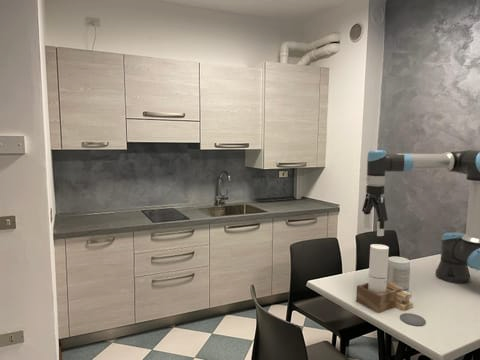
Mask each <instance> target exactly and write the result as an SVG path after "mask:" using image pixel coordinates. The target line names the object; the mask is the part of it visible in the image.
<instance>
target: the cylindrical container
mask: <svg viewBox="0 0 480 360" xmlns="http://www.w3.org/2000/svg"><path fill="white" fill-rule="evenodd" d="M389 251H390V247H389V246H388V245H385V244H380V243H378V244H377V243H375V244H374V243H373V244H370V248H369V262H368V263H369V266H368V268H369V269H368V282H367V283H368V290H370V291H372V292H374V293H376V294H378V295H380V294H383V293H386V286H387V269H388V258H389Z"/></svg>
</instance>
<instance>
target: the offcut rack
mask: <svg viewBox="0 0 480 360" xmlns="http://www.w3.org/2000/svg"><path fill="white" fill-rule="evenodd" d="M412 296H413V295H412V293H411V292H409V291H408V292H406V291H404V288H402V287H400V286H397V285H395V284H393V283H391V282H389V281H387V286H386V293H383V294H380V295H378V294H376V293H374V292H372V291H370V290H368V282H365V283H362V284H358V285H356V297H355V302H357V303H358V304H361V305H362V306H364V307H366V308H368V309H370V310H371V311H374V312H376V313H382V312H385V311H387V310H390V309H394V308H396V309H399V310H401V311H403V312H404V311H407V310H410V309H413V308H414V303H413V302H412V301H410V299H411V298H412Z"/></svg>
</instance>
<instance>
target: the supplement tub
mask: <svg viewBox="0 0 480 360" xmlns="http://www.w3.org/2000/svg"><path fill="white" fill-rule="evenodd" d="M410 262H411V261H410V260H409V259H408V258H406V257H401V256H388V269H387V281H389V282H391V283H393V284H395V285H397V286H400V287H402V288H404V291H406V292H409V291H410V290H409V288H410V270H411V263H410Z"/></svg>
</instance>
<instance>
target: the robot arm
mask: <svg viewBox="0 0 480 360" xmlns="http://www.w3.org/2000/svg"><path fill="white" fill-rule="evenodd" d="M366 162H367V163H366V168H367V169H366V178H365V179H366V187H365V189H366V190H365V192H366V193H365V199H364V202H363V205H362V208H361V209H362V210H361V212H363V215H364V217H363V218H364V219H363V228H364V229H370V228H371V220H372V219H371V215H372V213H371V211H372V210H373V208H374V209H375V212H376V214H377V215H376V216H377V221H376V223H377V226H376V227H377V229H376V236H377V237H383V236H385V222H388V214H387V208H386V199H385V197H382V196H381V195H384V194H385V184H386V172H392V173H393V172H398V173H399V172H401V173H404V172H405V173H406V172H410V171H412V170H443V171H444V172H452V173H457V174H463V175H466V179H465V180H466V182H468V183H469V190H468V202H467V203H468V204H467V216H466V226H465V233H463V232H445V233H443V234H442V238H441V249H440V251H441V252H440V261H439V263H438V265H437V268H436V269H435V276H436V278H438V279H440V280H442V281H446V282H449V283H454V284H468V283H470V282H471V273H470V271H469V268H470V269H473V270H475V271H480V150H475V149H469V150H461V151H460V150H459V151H445V152H444V153H387V151H386V150H381V149H375V150H374V149H371V150H369V151H368V153H367V159H366Z"/></svg>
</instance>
